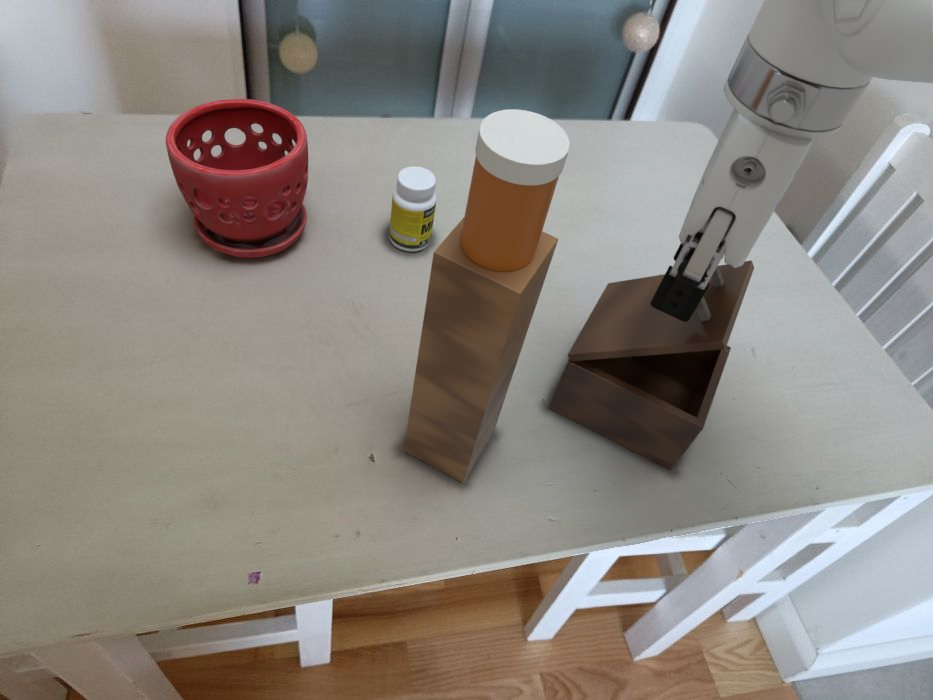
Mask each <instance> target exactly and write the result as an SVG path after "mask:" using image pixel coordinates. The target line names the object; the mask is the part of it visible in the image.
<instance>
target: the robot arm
mask: <svg viewBox="0 0 933 700" xmlns="http://www.w3.org/2000/svg"><path fill="white" fill-rule="evenodd" d="M873 78H876V79H881V80H889V81H900V82H901V81H902V82H912V83H923V84H924V83H925V84H933V0H763V2H762V5H761V6H760V9H759V11H758V13H757V14H756V17H755V19H754V22H753V24H752V26H751V28H750V30H749V32H748V33H747V35H746V38H745V40H744V42H743V44H742V46H741V49H740V51H739V53H738V55H737V57H736V59H735V62H734V63H733V66H732V67H731V69H730V72H729V74H728V76H727V78H726V80H725V82H724V84H723V91H724V96H725V97H726V99H727V102H729V104H730V105H731V107H733V110H732V112H731V113H730V116H729V118H728V120H727V122H726V124H725V126H724V128H723V130H722V133H721V134H720V137H719V139H718V141H717V143H716V145H715V147H714V150H713V151H712V154H711V156H710V158H709V160H708V162H707V165H706V167H705V169H704V171H703V174H702V175H701V178H700V181H699V183H698V186H697V188H696V190H695V193H694V195H693V198H692V199H691V203H690V205H689V207H688V210H687V213H686V216H685V218H684V219H683V220H684V221H683V223H682V225H681V228H680V231H679V233H678V239H679V242H680V244H679V246H678V247H677V249H676V251H675V254H674V255H673V261H674V263H673V266H672V265H669V266H668V268H667V269H666V272H665V273H664V274H665V275H664V277H663V279H662V281H661V283H660V285H659V287H658V289H657V291H656V293H655V295H654V297H653V299H652V301H651V303H650V304H651V306H652V307H653V308H655V309H657V310H660V311H662V312H664V313H666V314H668V315H670V316H672V317H675V318H677V319H679V320H681V321H683V322H687V321H689V319H690V317H691V316H692V314H693V312H694V311H695V309H696V307H697V306H698V304H699V302H700V301H701V299H702V297H703V296H704V294H705V292H706V291H707V289H708V287H709V285H710V283H708V282H709V280H710V279H711V277H712V275H713V273H714V271H715V270H716V268H717V266H719V264H720V263H721V261H722V260H723V261H724V264H725V265H726V264H729V265H731V266H732V267H733V268H737V267H740V266H742V265H743V264H744V262H745V261H747V258H748V257H749V255H750V253H751V252H752V249H753V248H754V246H755V244H756V243H757V241H758V239H759V238H760V236H761V234H762V232H763V231H764V229H765V227H766V226H767V223H768V222H769V221H770V219H771V217H772V216H773V214H774V212H775V211H776V209H777V207H778V205H779V204H780V202H781V200H782V199H783V197H784V196H785V194H786V192H787V190H788V189H789V187H790V185H791V184H792V182H793V180H794V178H795V176H796V175H797V173H798V171H799V170H800V167H801V166H802V164H803V162H804V161H805V158H806V156H807V154H808V153H809V151H810V149H811V146H812V145H813V143H814V141H815V140H823V139H828V138H830V137H832V136H835V135H836V134H837V133H838V132H839V131H840V130H841V128H842V127H843V125H844V123H845V121H846V120H847V119H848V117H849V116H850V114H851V113H852V112H853V110H854V108H855V106H856V104H857V103H858V102H859V100H860V98H861V97H862V95H863V93H864V92H865V90H866V89H867V88H868V86H869V85H870V83H871V81H872V80H873ZM718 246H719V247H720V248H719V247H718ZM723 258H724V259H723ZM711 259H712V260H711ZM710 261H711V262H710ZM709 263H710V264H709Z"/></svg>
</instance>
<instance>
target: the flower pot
mask: <svg viewBox="0 0 933 700" xmlns="http://www.w3.org/2000/svg"><path fill="white" fill-rule="evenodd" d="M297 117H298V116H296V115H294V114H293V113H292V112H291V111H289V110H287V109H285V108H283V107H281V106H279V105H276V104H273V103H270V102H266V101H263V100H257V99H250V98H227V99H218V100H213V101H209V102H205V103H202V104H198V105H197V106H194V107H192V108H189V109H188V110H186V111H184V112H183V113H181V114H180V115H178V116H177V117H176V118H175V119H174V120H173V121H172V123H171V124H170V125H169V127H168V129H167V132H166V135H165V147H166V151H167V156H168V160H169V164H170V167H171V171H172V174H173V177H174V180H175V183H176V185H177V188H178V190H179V191H180V193H181V195H182V197H183V199H184V201H185V203H186V205H187V207H188V208H189V210H190V211H191V212H192V214H193V219H192V220H193V227H194V229H195V231H196V234H197V235H198V236H199V238H200V239H201V240H202V241H203V242H204V243H205V244H206V245H208V246H209V247H210V248H212V249H213V250H215V251H217V252H219V253H221V254H225V255H228V256H232V257H237V258H247V259H248V258H260V257H261V258H262V257H267V256H270V255H274V254H277V253H280V252H281V251H283V250H286V249H287V248H289V247H290V246H292V245H293V244H294V243H295V242H296V241H297V240H298V238H300V236H301V235H302V234H303V232H304V230H305V227H306V224H307V220H308V219H307V218H308V212H307V209H306V206H305V204H304V200H305V197H306V193H307V188H308V182H309V181H308V180H309V144H308V143H309V142H308V136H307V131H306V128H305V126H304V125H303V123H302V122H301V120H300V119H298V118H297ZM252 125H258V126H260V127H261V128H262V131H261V132H256V131H255V130H253V128H252ZM231 129H236V130H239V131H241V132H242V133H243V134H244V136H245V139H244V142H243V143H240V144H233V143H230V142H228V140H226V132H228V130H231ZM208 131H210V133H211V136H210V138H209V140H207V141H204V140H203V135H204V134H205V133H206V132H208ZM273 134H276V135H278V136H279V137H280V140H281V143H278V142H277V141H275V139H274V137H273ZM188 142H189V145H188ZM261 142H262V143H264V144H265V146H266V148H262V147H261V146H260V144H259V143H261ZM293 142H294V143H295V145H294V143H293ZM216 146H220V150H221V152H220V153H219V154H218V155H215V156H214V155H213V154H212V150H213V148H214V147H216ZM198 150H199V153H200V154H199V157H198V158H197V159H195V152H196V151H198ZM286 152H287V154H286Z"/></svg>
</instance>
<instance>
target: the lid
mask: <svg viewBox="0 0 933 700" xmlns="http://www.w3.org/2000/svg"><path fill="white" fill-rule="evenodd" d="M718 247H719V246H718ZM719 248H720V247H719ZM711 260H712V259H711ZM710 262H711V261H710ZM709 264H710V263H709ZM754 269H755V265H754V262H753V260H745V262H744V264H743V265H742V266H740V267H737V268H733V267H732V266H731V265H729V264H726V263H725V264H720V265H718V266H717V268H716V270H715V271H714V273H713V275H712V277H711V279H710V280H709V282H708V283H710V285H709V287H708V289H707V291H706V292H705V294H704V296H703V297H702V299H701V301H700V302H699V304H698V306H697V307H696V309H695V311H694V312H693V314H692V316H691V317H690V319H689V321H687V322H683V321H681V320H679V319H677V318H675V317H672V316H670V315H668V314H666V313H664V312H662V311H660V310H657V309H655V308H653V307H652V306H651V304H650V303H651V301H652V299H653V297H654V295H655V293H656V291H657V289H658V287H659V285H660V283H661V281H662V279H663V277H664V275H665V274H666V273H663V274H658V275H657V274H656V275H651V276H645V277H637V278H632V279H625V280H619V281H613V282H608V283H607V284H606V286H605V288H604V290H603V292H602V293H601V295H600V297H599V299H598V301H596V303H595V305H594V307H593V309H592V311H591V312H590V313H589V316H588V318H587V320H586V321H585V323H584V325H583V326H582V328H581V331H580V332H579V334H578V335H577V337H576V339H575V341H574V343H573V344H572V346H571V348H570V350H569V351H568V353H567V357H568V360H569V359H570V360H571V361H583V360H596V359H608V358H621V357H633V356H646V355H659V354H671V353H684V352H696V351H709V350H722V349H726V346H728V343H729V341H730V338H731V335H732V332H733V330H734V327H735V324H736V321H737V318H738V315H739V312H740V309H741V307H742V304H743V301H744V298H745V295H746V292H747V289H748V287H749V284H750V281H751V279H752V276H753V272H754Z"/></svg>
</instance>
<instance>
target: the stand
mask: <svg viewBox="0 0 933 700" xmlns="http://www.w3.org/2000/svg"><path fill="white" fill-rule="evenodd" d="M463 222H464V217H462V219H461V220H460V221H459V222H458V223H457V225H456V226H455V227H454V228H453V229H452V230H451V231H450V233H449V234H448V235H447V236H446V237H445V238H444V239H443V241H442V242H441V243H440V244H439V245H438V246H437V247H436V249H435V250H434V251H433V254H432V259H431V260H432V261H431V266H430V267H431V268H430V275H429V280H428V287H427V293H426V294H427V295H426V302H425V308H424V314H423V320H422V327H421V334H420V340H419V348H418V354H417V360H416V366H415V372H414V379H413V386H412V391H411V398H410V399H411V400H410V404H409V405H410V406H409V413H408V417H407V418H408V419H407V426H406V432H405V438H404V439H405V440H404V445H403V452H405V453H406V454H409V455H410V456H412V457H414V458H416V459H417V460H419V461H421V462H423V463H425V464H426V465H428V466H430V467H432V468H433V469H436V470H437V471H438V472H441V473H443V474H444V475H446V476H448V477H450V478H452V479H453V480H456V481H457V482H459V483H461V484H464V482H465V481H466V480H467V478H468V476H469V475H470V473H471V471H472V469H473V468H474V466H475V465H476V463H477V461H478V459H479V458H480V456H481V455H482V453H483V451H484V450H485V448H486V446H487V445H488V443H489V441H490V440H491V438H492V436H493V435H494V432H495V429H496V426H497V424H498V421H499V417H500V414H501V412H502V409H503V405H504V402H505V399H506V397H507V393H508V390H509V387H510V384H511V382H512V379H513V375H514V372H515V369H516V366H517V364H518V361H519V358H520V354H521V352H522V349H523V346H524V343H525V340H526V338H527V334H528V332H529V329H530V326H531V323H532V319H533V316H534V314H535V310H536V307H537V304H538V302H539V298H540V297H541V293H542V290H543V286H544V283H545V281H546V278H547V275H548V271H549V269H550V265H551V262H552V260H553V257H554V254H555V251H556V247H557V245H558V242H559V238H557V237H556V236H553V235H551V234H549V233H547V232H544V230H542V233H541V236H540V240H539V243H538V246H537V249H536V253H535V256H534V258H533V260H532V261H531V262H530V263H529V264H528V265H527V266H525V267H524V268H521V269H519V270H515V271H509V272H500V271H494V270H490V269H487V268H484V267H482V266H480V265H478V264H476V263H475V262H473V261H472V260H471V259H470V258H469V257H468V256H467V255H466V254H465V253H464V251H463V249H462V246H461V242H460V238H461V232H462V227H463Z"/></svg>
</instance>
